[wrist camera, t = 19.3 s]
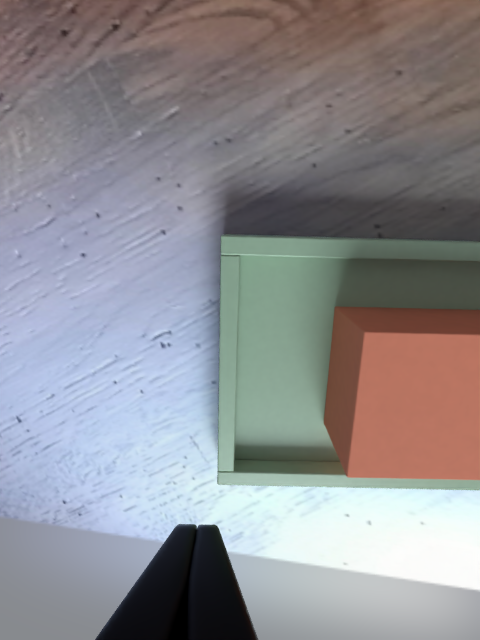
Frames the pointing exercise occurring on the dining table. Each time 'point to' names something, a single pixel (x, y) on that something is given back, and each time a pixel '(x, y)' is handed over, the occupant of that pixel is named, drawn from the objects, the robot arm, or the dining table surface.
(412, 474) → the coral block
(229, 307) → the green shallow rectangular tray
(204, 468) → the dining table surface
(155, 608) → the robot arm
